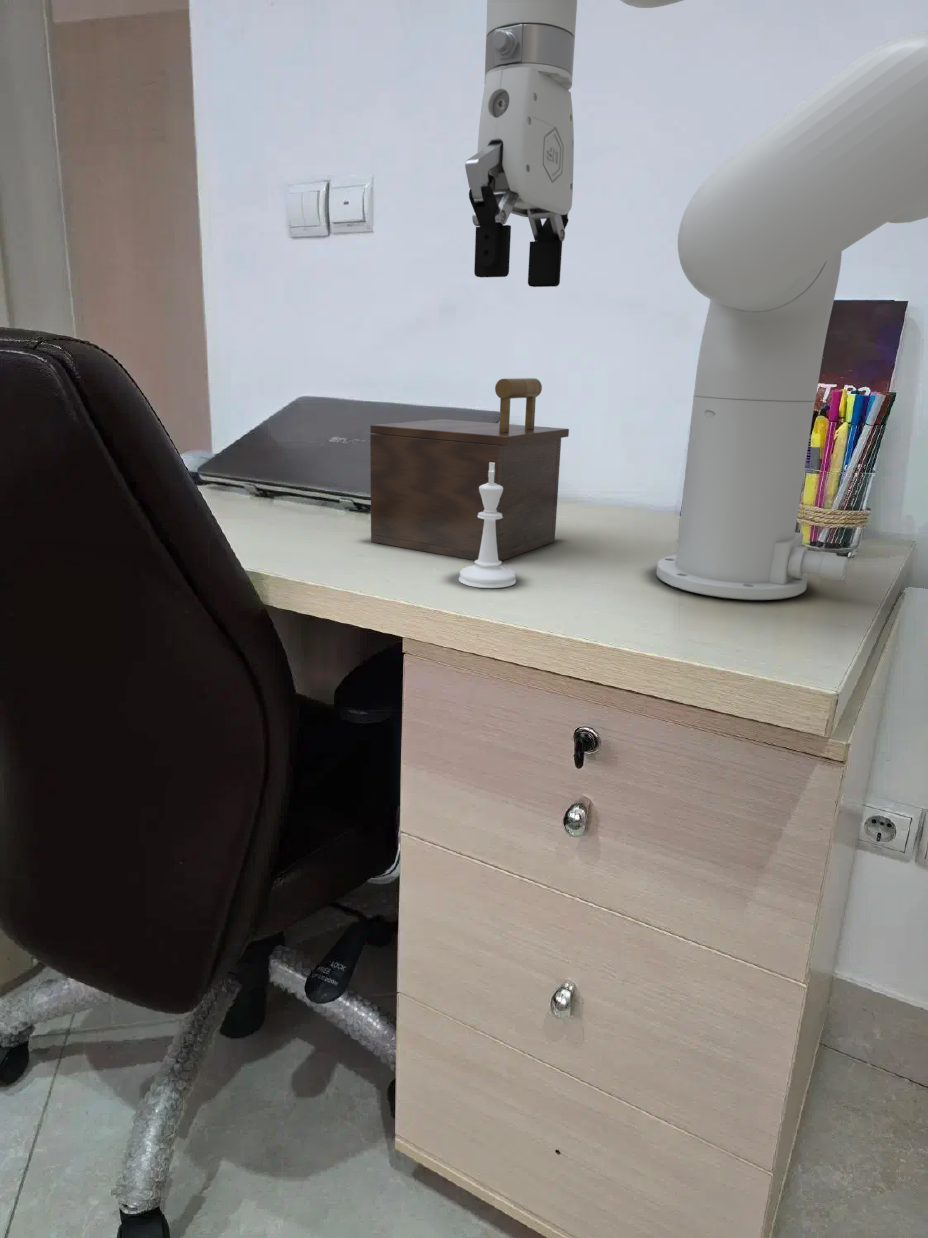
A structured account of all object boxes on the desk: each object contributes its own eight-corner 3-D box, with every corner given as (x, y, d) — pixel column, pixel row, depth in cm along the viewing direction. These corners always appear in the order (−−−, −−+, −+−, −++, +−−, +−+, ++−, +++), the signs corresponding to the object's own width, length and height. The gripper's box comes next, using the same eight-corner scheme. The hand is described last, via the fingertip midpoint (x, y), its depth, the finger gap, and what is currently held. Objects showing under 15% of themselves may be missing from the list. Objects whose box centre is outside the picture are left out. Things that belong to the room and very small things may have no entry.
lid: (568, 436, 83) (572, 378, 82) (506, 445, 73) (509, 379, 71) (442, 426, 91) (443, 373, 89) (370, 433, 81) (369, 373, 79)
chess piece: (517, 575, 73) (522, 460, 70) (515, 589, 68) (521, 467, 65) (461, 572, 73) (465, 458, 70) (455, 586, 69) (459, 465, 66)
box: (555, 541, 87) (561, 436, 84) (494, 563, 77) (498, 445, 73) (440, 523, 94) (442, 426, 91) (370, 541, 84) (370, 433, 81)
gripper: (518, 23, 62) (507, 271, 67) (610, 87, 76) (595, 289, 81) (435, 39, 65) (431, 273, 71) (537, 98, 79) (527, 290, 85)
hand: (518, 281), depth 76 cm, fingers open, 9 cm apart
